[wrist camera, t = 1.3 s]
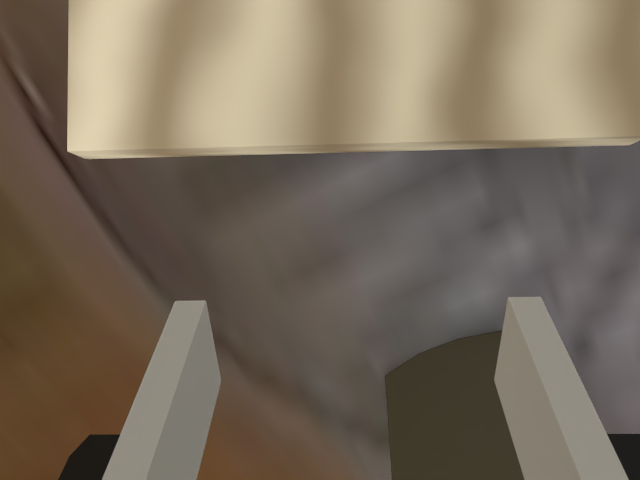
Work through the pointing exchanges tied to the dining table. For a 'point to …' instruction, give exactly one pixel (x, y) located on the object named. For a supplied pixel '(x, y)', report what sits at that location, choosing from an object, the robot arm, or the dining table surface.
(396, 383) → the olive curved-top slab
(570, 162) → the dining table surface
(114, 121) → the plank
